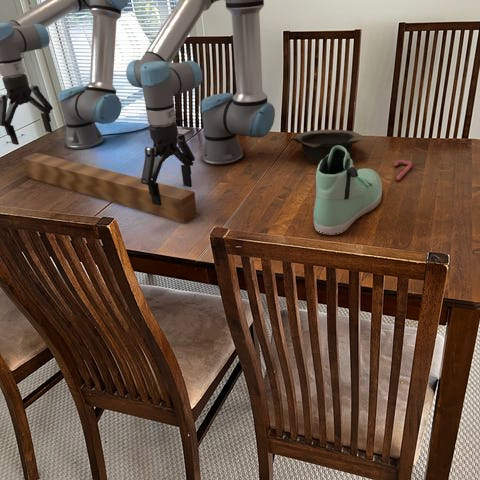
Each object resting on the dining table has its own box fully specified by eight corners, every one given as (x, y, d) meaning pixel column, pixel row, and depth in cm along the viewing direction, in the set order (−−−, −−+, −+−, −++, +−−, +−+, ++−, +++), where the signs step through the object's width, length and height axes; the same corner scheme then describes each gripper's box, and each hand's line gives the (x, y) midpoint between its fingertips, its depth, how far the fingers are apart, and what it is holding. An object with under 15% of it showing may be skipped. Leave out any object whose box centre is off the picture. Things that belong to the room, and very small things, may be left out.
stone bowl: (320, 174, 160) (319, 147, 155) (281, 157, 180) (279, 132, 176) (378, 156, 168) (378, 130, 164) (334, 141, 189) (333, 118, 184)
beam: (28, 177, 176) (22, 158, 172) (42, 171, 180) (36, 152, 176) (184, 223, 138) (181, 199, 134) (197, 214, 142) (194, 191, 138)
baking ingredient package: (154, 138, 201) (173, 127, 213) (154, 139, 202) (173, 128, 213) (171, 140, 198) (190, 129, 209) (171, 141, 198) (190, 130, 209)
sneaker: (389, 187, 148) (396, 123, 138) (356, 242, 123) (361, 168, 112) (346, 181, 154) (350, 119, 144) (306, 232, 129) (307, 161, 118)
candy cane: (380, 178, 154) (381, 174, 154) (397, 162, 164) (397, 158, 164) (399, 182, 151) (399, 178, 150) (414, 165, 161) (415, 161, 161)
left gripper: (-16, 85, 146) (7, 151, 157) (52, 67, 163) (68, 128, 174) (-29, 83, 150) (-6, 147, 161) (39, 66, 167) (55, 125, 178)
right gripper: (139, 139, 118) (153, 215, 129) (202, 112, 135) (209, 181, 146) (118, 135, 122) (133, 209, 133) (181, 109, 139) (190, 177, 150)
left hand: (32, 137), depth 168 cm, fingers open, 13 cm apart
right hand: (173, 195), depth 139 cm, fingers open, 13 cm apart
